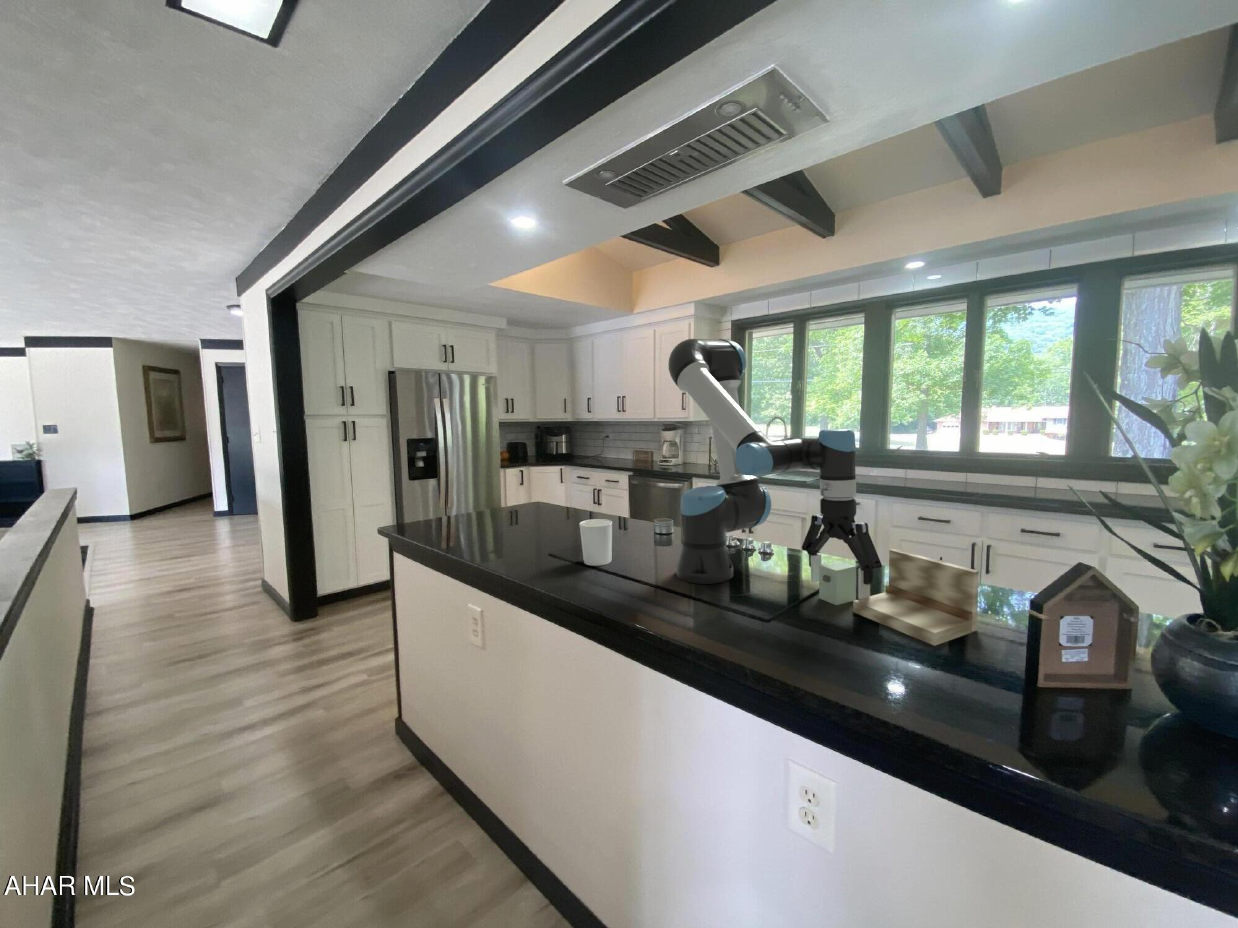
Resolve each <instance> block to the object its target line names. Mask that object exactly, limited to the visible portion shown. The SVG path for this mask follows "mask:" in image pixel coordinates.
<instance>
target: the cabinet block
mask: <svg viewBox="0 0 1238 928" xmlns="http://www.w3.org/2000/svg"><path fill="white" fill-rule="evenodd" d="M818 583H819V585H818V586H819V587H818V588H819V591H818V592H819V596H818V597H819V599H820V600H823V601H825V602H828V603H830V604H833V606H834V605H835V606H839V605H842V604H847V603H850V602H853V601H855V600H857V590H856V589H857V566H856V565H854V564H850V563H847V562H843V561H841V560H834V561H830V562H827V563H825V562H824V563H821V565H819V582H818Z"/></svg>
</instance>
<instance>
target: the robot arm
mask: <svg viewBox="0 0 1238 928" xmlns="http://www.w3.org/2000/svg"><path fill="white" fill-rule="evenodd" d="M746 357H747V356H746V353H745V351H744V350H743V348H742V347H741V345H739V344H738V343H737V342H735V341H733V340H728V339H723V338H718V339H712V338H711V339H709V338H708V339H707V338H705V339H704V338H701V339H700V338H688V339H685V340H682V341H680V342H679V343H678V344H676V345H675V346H674V347H673V349H672V351H671V353H670V355H669V358H668V371H669V374H670V377H671V379H672V381H673V383H674V384H675V385H676V386H677V388H678V389H679V390H680V391H681V392H684V393H685V392H686V393H687V394H688V395H689V396H690V398H692V400H693V401H694V402H695V403H696V404H697V406H698V407H699V409H701V412H703V413H704V414H705V416H706V417H707V418H708V419H709V420H710V422H711V423H710V424H711V429H712V430H711V431H712V434H713V443H714V447H715V453H716V459H717V464H718V471H719V479H718V481H717V482H716V483H715V484H716V485H705V486H697V487H694V488H691V489H688V490H686V491H685V492H684V493H682V495H681V499H680V508H679V510H680V511H679V512H680V515H681V517H680V518H681V520H680V521H681V523H680V524H681V550H680V553H679V557H678V560H677V564H676V565H675V566H676V577H677V578H678V579H680V580H682V581H684V582H687V583H692V584H702V585H711V584H719V583H724V582H727V581H729V580H731V579H732V578H733V577H734V566H733V563H732V561H731V557H730V554H729V552H728V549H727V533H731V532H732V533H733V532H736V531H740V530H745V529H747V530H748V529H753V528H755V527H757V526H760V525H762V524H764V523H765V522H766V521H767V520H768V518H769V516H770V514H771V511H772V498H771V495H770V493H769V491H768V490H766V487H765V486H763V485H761V484H760V483H759V482H760V481H759V477H762V476H763V477H764V476H766V475H769V474H777V473H785V472H793V471H797V470H798V471H799V470H812V471H819V495H820V496H821V499H819V502H820V503H819V507H820V508H819V511H820V513H819V514H813V515H811V517H810V520H811V521H810V526H809V528H808V530H807V533H806V534H805V538H804V540H803V542H802V546H801V549H802V551H805V552H807V554H808V566H809V568H810V582H811V583H812V584H813V583H814V584H815V583H819V565H821V564H822V554H821V550H822V549H823V547H824V546H825V545H826V544H827V542H828V541H829V540H830V539H837V540H839V541H843V542H844V544H847V547H848V548H849V550H850V551H851V552H852V554H853V555H854V557H855V559H856V560H857V562H858V563H859V565H860V567H861V568H858V571H857V573H858V574H857V575H858V576H857V577H858V581H857V582H858V585H857V586H858V588H857V590H858V591H857V592H858V596H857V597H858V600H859V599H865V598H868V597H870V596H871V585H872V584H873V581H874V579H873V577H874V575H873V574H874V570H875V569H879V568H882V565H883V564H882V562H881V559H880V557H879V554H878V552H877V550H876V547H875V545H874V543H873V540H872V537H871V535H870V533H869V525H868V522H867V521H864V522H856V521H855V517H856V516H857V499H855V497H856V496H857V477H856V459H857V457H856V456H857V453H856V452H857V445H856V435H855V432H854V430H853V429H851V428H830V429H829V428H828V429H821V430H820V431H819V433H818V437H816V438H815V437H814V438H813V437H809V438H808V437H794V436H793V437H786V438H785V437H784V438H781V439H776V440H771V439H770V438H769V437H767V436H766V434H764V432H763V431H762V430H761V429H760V428H759V426H758V425H757V424H756V423H755V422H754V421H753V420H752V419H751V418H750V416H749V415H748V414H747V413H746V411H744V409H742V407H740V401H739V394H738V387H739V386H740V385H742V379H741V378H742V377H743V376H744V374H745V369H746V367H747V358H746ZM758 476H759V477H758ZM822 526H823V527H822Z"/></svg>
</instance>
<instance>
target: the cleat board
mask: <svg viewBox="0 0 1238 928" xmlns="http://www.w3.org/2000/svg"><path fill="white" fill-rule="evenodd" d="M888 551H889V552H888V557H889V558H888V584H886V585H885V592H881V593H877V594H874V595H870V597H868V598H865V599H859V598H858V599H856V600H854V601H852V603H853V605H852V606H853V607H852V609H853V611H852V612H853V613H854V614H857V615H859V616H862V617H864V618H866V619H869V620H872V621H874V622H877V623H879V624H880V625H884V626H886V627H888V628H891V629H892V630H893V629H894V630H896V631H898V632H899V633H904V634H906V635H908V636H910V637H913V638H914V639H916V640H920V641H922V642H924V643H926V644H930V645H932V646H934V647H935V646H938V645H941V644H944V643H946V642H949V641H952V640H955V639H957V638H960V637H964V636H966V635H968V634H969V635H970V634H971V633H975V632H977V631H978V630H977V627H978V603H979V602H978V600H979V581H980V580H979V579H980V578H979V576H980V571H979V570H977V569H972V568H969V567H965V566H961V565H957V564H954V563H951V564H950V562H945V561H944V560H942V561H939V560H940V559H934V558H932V557H931V558H930V557H927V556H923V555H919V554H915V553H911V552H907V551H904V550H900V549H896V548H892V549H888Z"/></svg>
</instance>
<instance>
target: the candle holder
mask: <svg viewBox="0 0 1238 928" xmlns="http://www.w3.org/2000/svg"><path fill="white" fill-rule="evenodd" d="M578 525H579V529H580V530H579V532H580V540H581V549H582V558H583V559H582V560H583V563H584V564H585V565H587V566H591V567H592V566H595V567H598V566H604V565H608V564H610V563H611V562H612V557H613V555H612V553H613V551H612V550H613V521H612V520H611V519H606V518H592V519H586V520H583V521H580V522H579V524H578Z"/></svg>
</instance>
